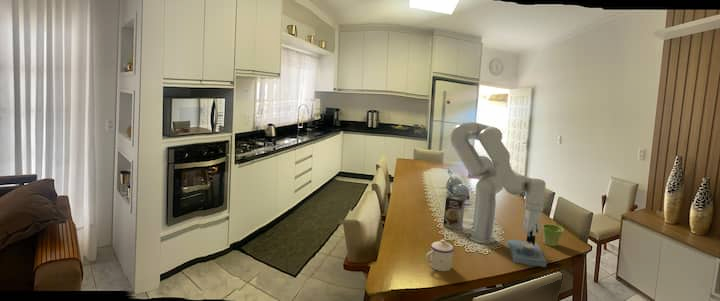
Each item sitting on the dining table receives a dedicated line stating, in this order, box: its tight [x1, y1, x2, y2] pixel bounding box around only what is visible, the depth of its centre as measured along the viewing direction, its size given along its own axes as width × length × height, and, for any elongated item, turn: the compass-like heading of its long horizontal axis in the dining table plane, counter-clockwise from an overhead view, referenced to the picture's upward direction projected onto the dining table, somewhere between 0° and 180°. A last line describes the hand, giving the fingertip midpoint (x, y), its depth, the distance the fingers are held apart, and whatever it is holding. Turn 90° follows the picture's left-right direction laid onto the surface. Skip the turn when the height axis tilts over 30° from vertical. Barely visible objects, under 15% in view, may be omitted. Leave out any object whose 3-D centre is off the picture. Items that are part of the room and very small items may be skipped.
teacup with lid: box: [425, 239, 454, 272], centre depth 156 cm, size 12×9×12 cm
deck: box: [507, 238, 548, 268], centre depth 173 cm, size 20×13×2 cm, turn 167°
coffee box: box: [442, 194, 466, 231], centre depth 202 cm, size 9×6×16 cm
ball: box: [523, 240, 534, 251], centre depth 171 cm, size 4×4×4 cm
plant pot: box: [541, 223, 565, 247], centre depth 186 cm, size 9×9×9 cm
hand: (530, 244), depth 174 cm, fingers closed
